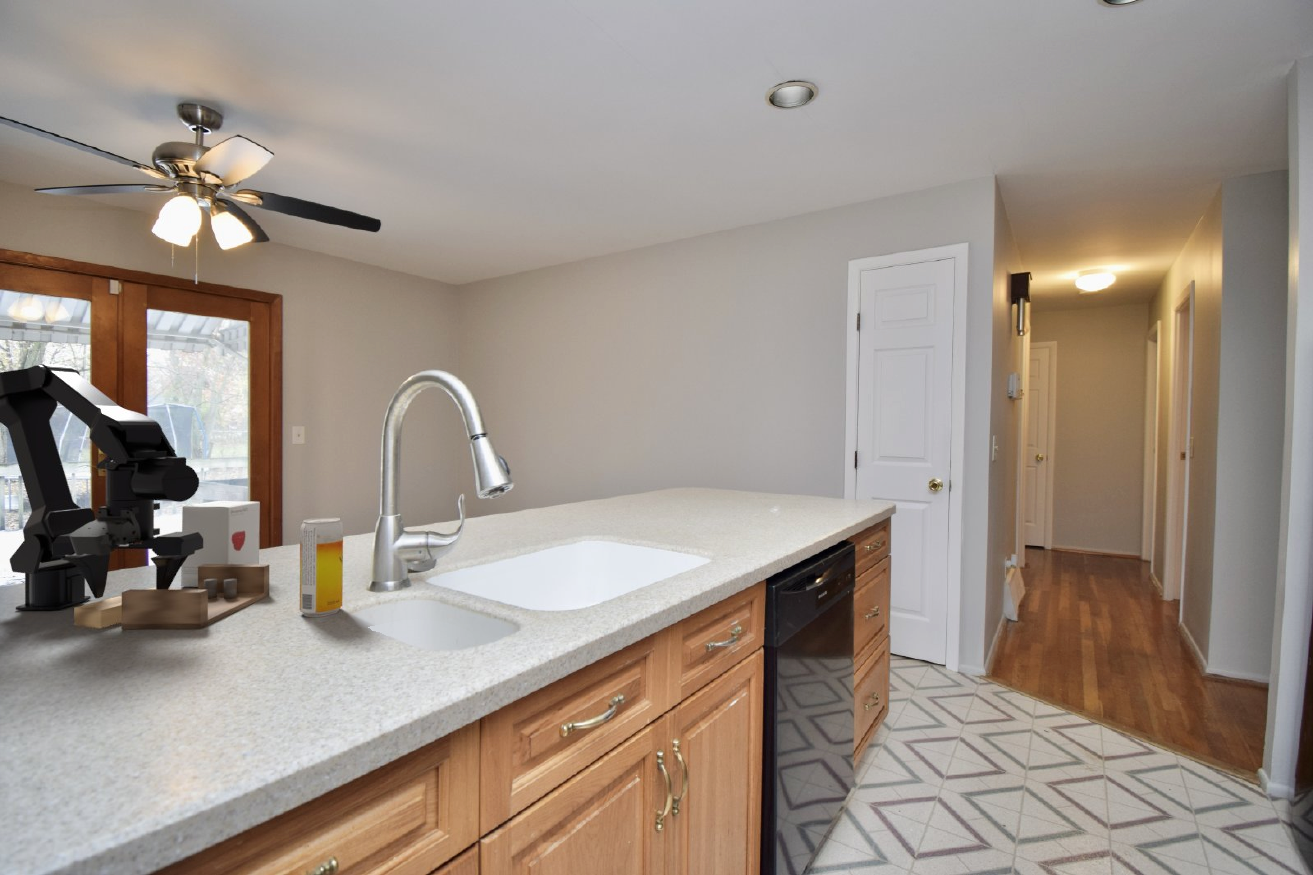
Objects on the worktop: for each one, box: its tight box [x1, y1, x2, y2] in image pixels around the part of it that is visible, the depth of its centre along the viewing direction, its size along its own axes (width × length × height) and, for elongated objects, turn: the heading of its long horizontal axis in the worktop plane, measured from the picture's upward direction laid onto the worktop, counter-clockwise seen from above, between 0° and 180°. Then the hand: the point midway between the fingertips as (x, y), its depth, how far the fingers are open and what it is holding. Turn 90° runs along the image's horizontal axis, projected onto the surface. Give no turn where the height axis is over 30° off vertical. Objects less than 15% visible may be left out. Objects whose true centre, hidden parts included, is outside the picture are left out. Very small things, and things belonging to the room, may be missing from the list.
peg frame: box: [121, 563, 270, 630], centre depth 99 cm, size 11×18×5 cm, turn 4°
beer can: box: [299, 516, 344, 618], centre depth 99 cm, size 6×6×15 cm
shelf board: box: [73, 586, 181, 629], centre depth 96 cm, size 5×12×3 cm, turn 168°
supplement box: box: [180, 500, 261, 588], centre depth 116 cm, size 9×9×15 cm
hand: (130, 597), depth 96 cm, fingers open, 9 cm apart
